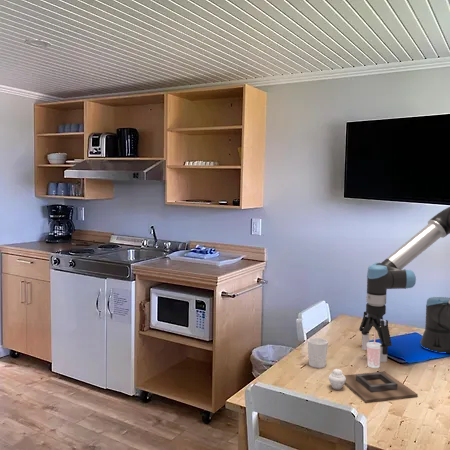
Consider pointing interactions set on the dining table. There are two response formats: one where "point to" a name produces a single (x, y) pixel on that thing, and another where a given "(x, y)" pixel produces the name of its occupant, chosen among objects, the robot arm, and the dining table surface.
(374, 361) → the beverage cup
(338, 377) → the white lidded jar
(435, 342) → the robot arm
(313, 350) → the white cup
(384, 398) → the cup holder
